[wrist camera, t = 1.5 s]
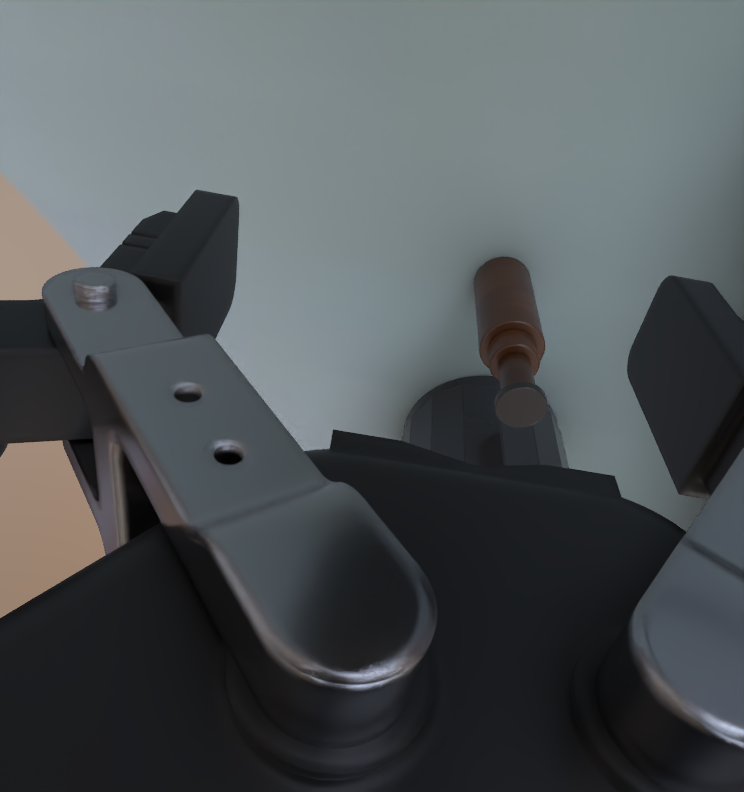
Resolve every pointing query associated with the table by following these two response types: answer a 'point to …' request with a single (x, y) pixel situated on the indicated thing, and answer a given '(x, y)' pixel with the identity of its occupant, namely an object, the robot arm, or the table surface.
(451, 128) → the table surface
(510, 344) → the bat
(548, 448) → the mug
